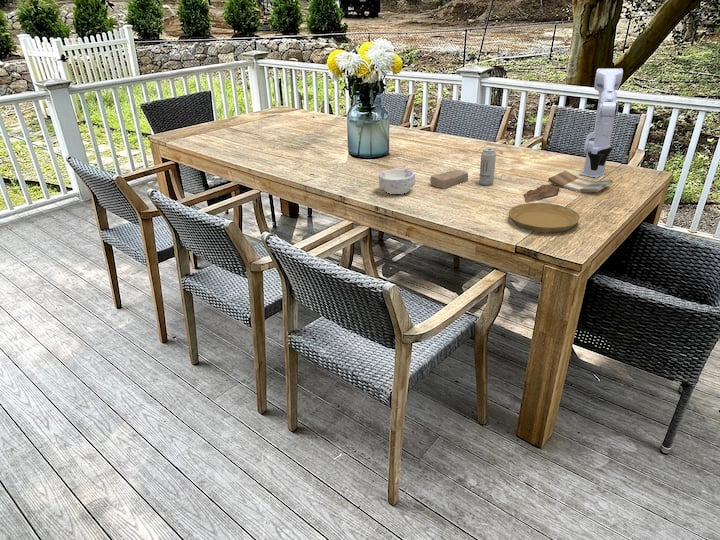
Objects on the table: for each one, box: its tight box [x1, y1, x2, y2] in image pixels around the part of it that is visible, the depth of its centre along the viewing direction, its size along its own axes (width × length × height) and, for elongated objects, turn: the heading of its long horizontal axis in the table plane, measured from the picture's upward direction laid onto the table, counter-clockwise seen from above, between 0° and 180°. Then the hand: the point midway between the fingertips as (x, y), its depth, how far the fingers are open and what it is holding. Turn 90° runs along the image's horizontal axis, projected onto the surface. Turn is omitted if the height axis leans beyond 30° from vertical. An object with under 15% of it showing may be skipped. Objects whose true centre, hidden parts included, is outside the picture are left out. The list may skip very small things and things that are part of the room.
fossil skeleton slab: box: [522, 183, 561, 204], centre depth 210 cm, size 26×11×1 cm, turn 130°
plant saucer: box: [508, 202, 581, 234], centre depth 184 cm, size 24×24×3 cm
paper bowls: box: [378, 168, 416, 195], centre depth 217 cm, size 15×15×8 cm
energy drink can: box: [478, 147, 497, 187], centre depth 220 cm, size 6×6×15 cm
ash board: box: [562, 177, 596, 193], centre depth 216 cm, size 14×7×1 cm, turn 133°
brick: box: [430, 168, 469, 190], centre depth 225 cm, size 17×8×5 cm, turn 130°
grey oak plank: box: [579, 179, 614, 193], centre depth 210 cm, size 14×7×1 cm, turn 133°
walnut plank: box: [547, 170, 580, 189], centre depth 220 cm, size 14×7×1 cm, turn 133°
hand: (597, 167), depth 207 cm, fingers open, 7 cm apart
